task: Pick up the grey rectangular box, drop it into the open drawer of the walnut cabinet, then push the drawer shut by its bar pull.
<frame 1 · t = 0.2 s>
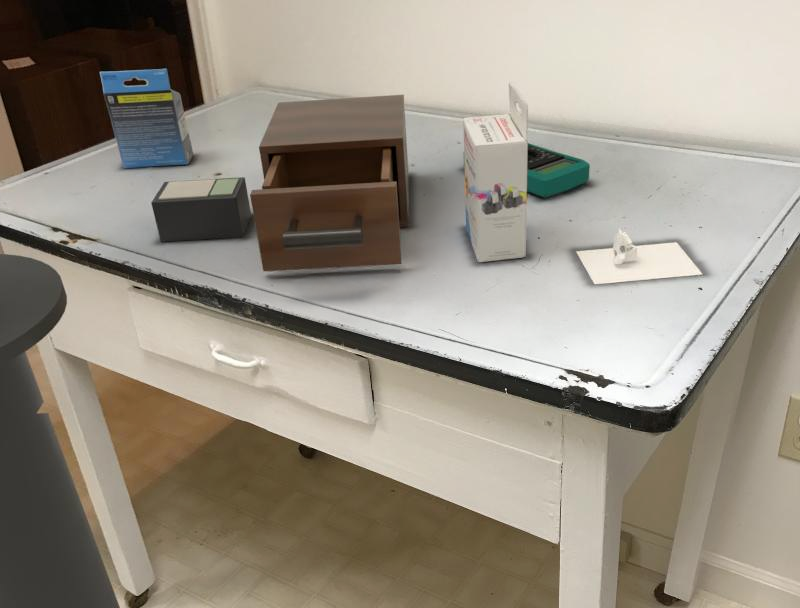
cabinet: (344, 203, 98), on the table
label tape box: (159, 164, 114), on the table
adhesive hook: (636, 264, 81), on the table
grey rectangular box: (207, 228, 94), on the table
ink box: (494, 245, 87), on the table
digital multimeter: (524, 178, 101), on the table
drawer: (331, 210, 84), point 5 cm above the table, slide at 9.5 cm
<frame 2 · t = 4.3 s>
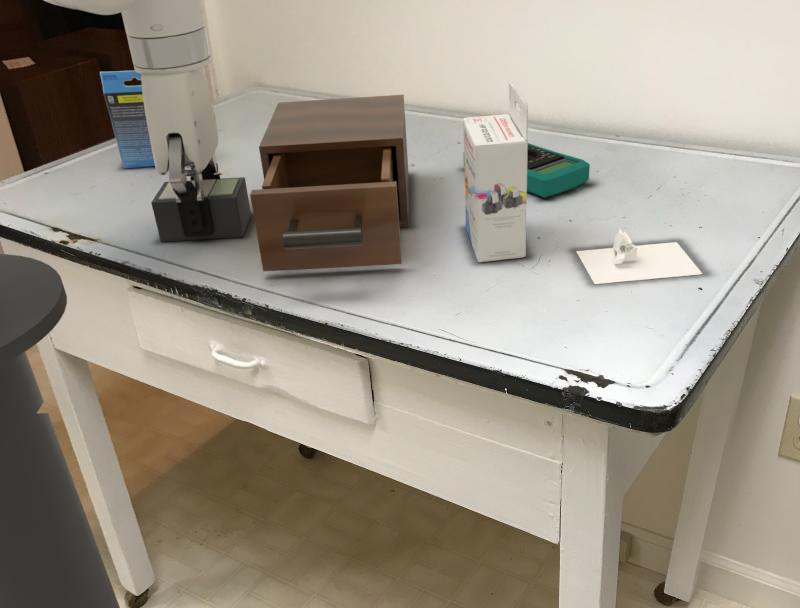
hand: (205, 220, 94), 1 cm above the table, tool pointing down, fingers closed on grey rectangular box, 6 cm apart
grey rectangular box: (207, 228, 94), on the table, touching gripper
everything else where it was.
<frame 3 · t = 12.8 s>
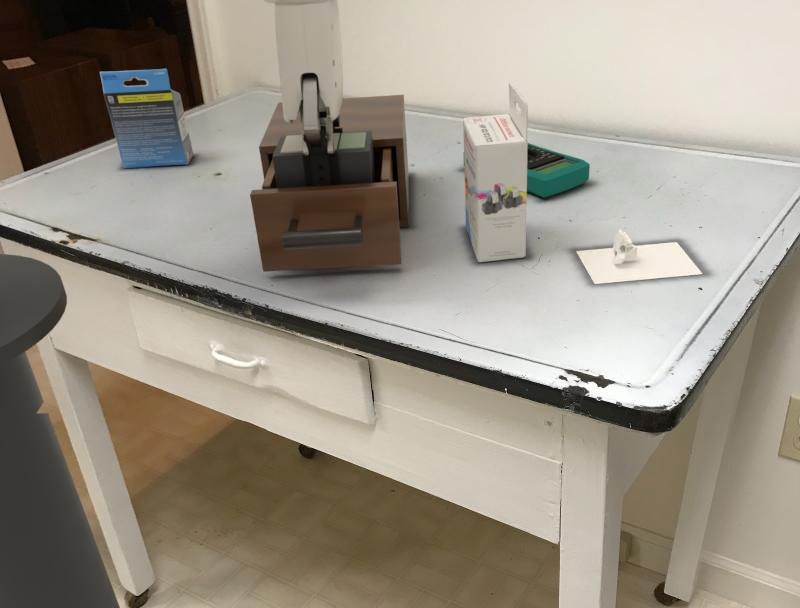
hand: (327, 179, 83), 8 cm above the table, tool pointing down, fingers closed on grey rectangular box, 6 cm apart
grey rectangular box: (328, 188, 84), point 7 cm above the table, touching gripper
everything else where it was.
when the fingers open (11 cm above the table, at t = 31.7 s): grey rectangular box drops 8 cm, resting on drawer.
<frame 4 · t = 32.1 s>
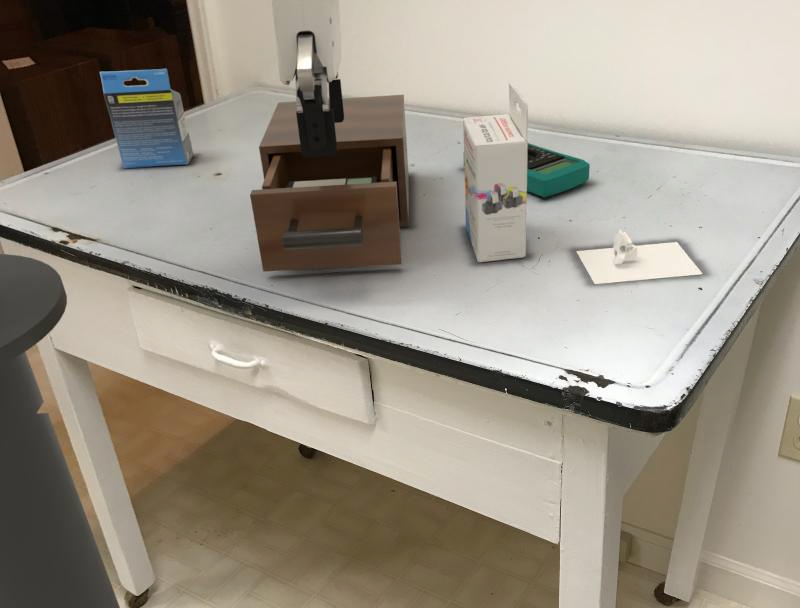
hand: (324, 138, 81), 12 cm above the table, tool pointing down, fingers open, 9 cm apart
grey rectangular box: (335, 232, 86), point 2 cm above the table, touching drawer
drawer: (331, 210, 84), point 5 cm above the table, slide at 9.5 cm, touching grey rectangular box
everything else where it was.
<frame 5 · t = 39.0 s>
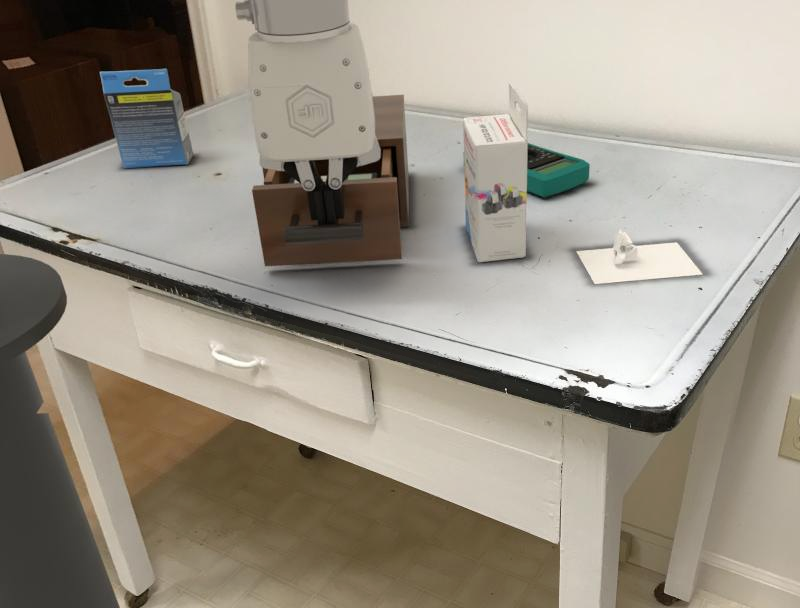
hand: (329, 225, 79), 5 cm above the table, tool pointing down, fingers closed
grey rectangular box: (336, 227, 87), point 2 cm above the table, touching drawer
drawer: (332, 205, 85), point 5 cm above the table, slide at 8.4 cm, touching grey rectangular box, gripper
everything else where it was.
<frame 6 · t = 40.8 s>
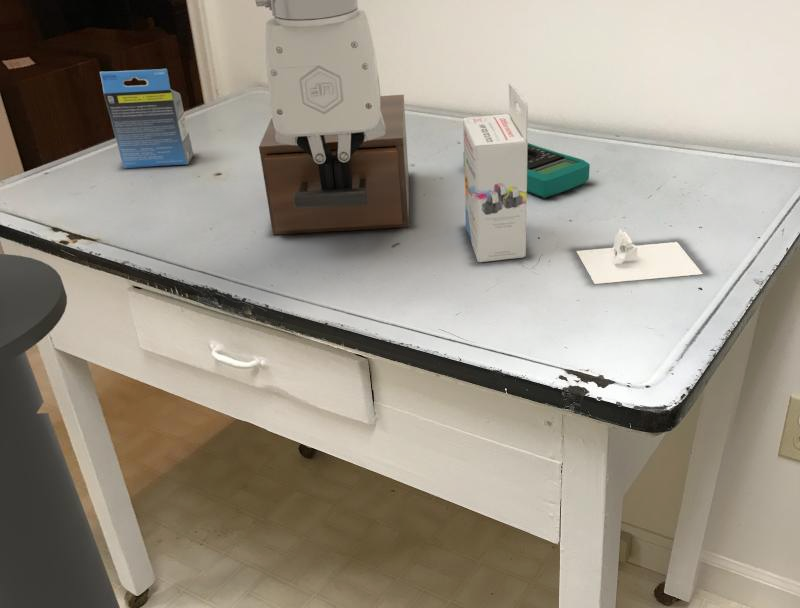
hand: (338, 196, 86), 5 cm above the table, tool pointing down, fingers closed
grey rectangular box: (341, 196, 94), point 2 cm above the table, touching drawer
drawer: (338, 175, 92), point 5 cm above the table, slide at 0.0 cm, touching cabinet, grey rectangular box, gripper
everything else where it was.
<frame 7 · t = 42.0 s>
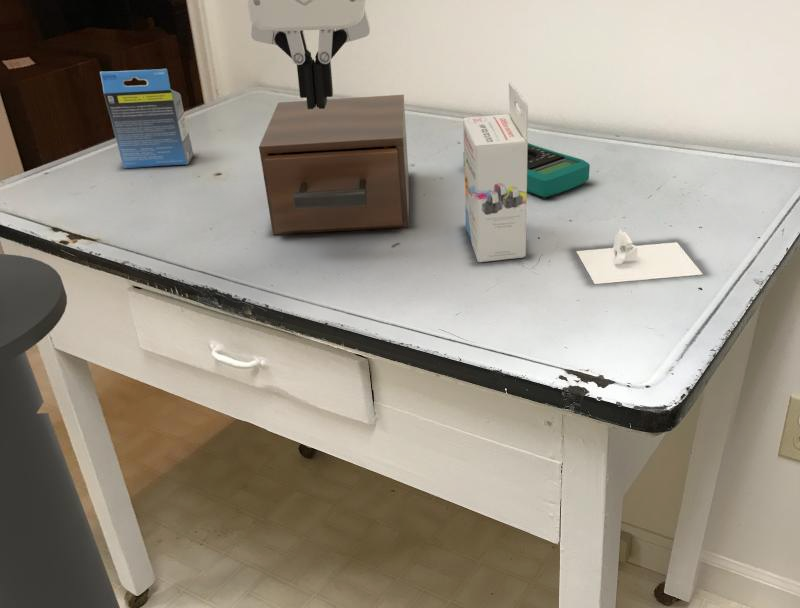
hand: (317, 104, 81), 14 cm above the table, tool pointing down, fingers closed
drawer: (337, 176, 91), point 5 cm above the table, slide at 0.2 cm, touching grey rectangular box
everything else where it was.
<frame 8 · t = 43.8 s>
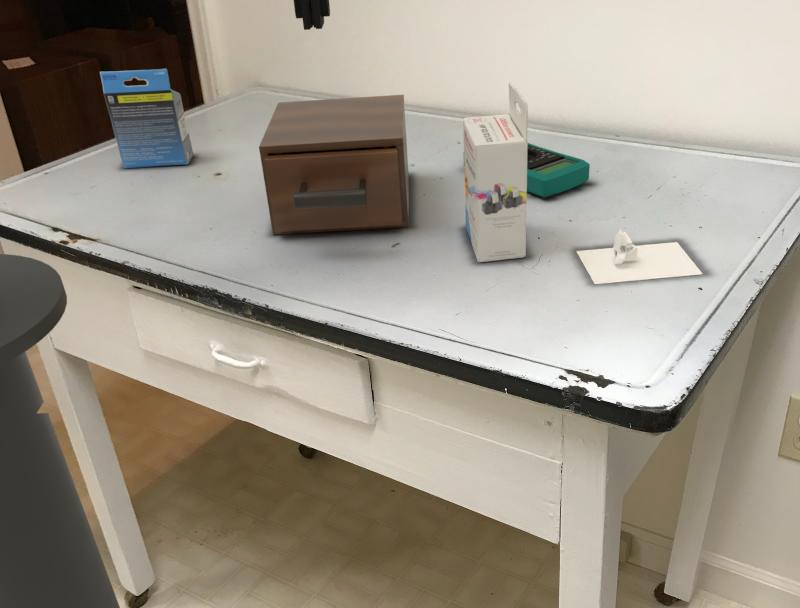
hand: (314, 25, 77), 21 cm above the table, tool pointing down, fingers closed
nothing on the table moved.
at the end: grey rectangular box inside the target area in the cabinet (3.4 cm from its centre), point 2.0 cm above the cabinet's base; drawer slide at 0.2 cm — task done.
